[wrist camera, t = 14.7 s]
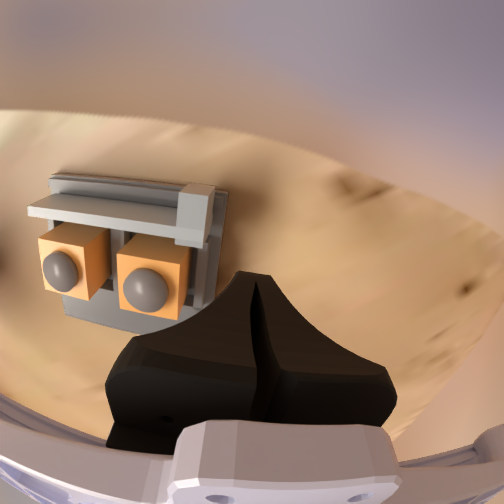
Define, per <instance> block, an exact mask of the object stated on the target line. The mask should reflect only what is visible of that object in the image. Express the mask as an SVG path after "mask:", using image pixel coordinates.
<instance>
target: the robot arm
mask: <svg viewBox="0 0 504 504" xmlns="http://www.w3.org/2000/svg"><path fill="white" fill-rule="evenodd" d="M105 390H106V395H107V399H108V402H109V406H110V409H111V412H112V416H113V419H114V423H113V425H112V428H111V430H110V433H109V435H108V438H107V440H104V439H101V438H98V437H95V436H92V435H90V434H87V433H84V432H82V431H79V430H76V429H74V428H71V427H69V426H66V425H64V424H62V423H59V422H57V421H55V420H53V419H50V418H48V417H46V416H44V415H42V414H39V413H37V412H35V411H33V410H31V409H29V408H27V407H25V406H23V405H21V404H20V403H18V402H16V401H14V400H12V399H10V398H9V397H7V396H5V395H3V394H2V393H0V478H2V479H3V480H5V481H6V482H7V483H9V484H10V485H12V486H13V487H15V488H17V489H18V490H19V491H21V492H23V493H24V494H26V495H27V496H29V497H31V498H32V499H34V500H36V501H37V502H39V503H41V504H484V503H486V502H487V501H489V500H490V499H491V498H493V497H494V496H496V495H497V494H498V493H500V492H501V491H502V490H504V424H501V425H498V426H495V427H493V428H490V429H488V430H486V431H485V432H483V433H482V434H481V435H480V436H479V437H478V438H477V439H476V440H475V441H474V443H473V444H471V445H468V446H464V447H461V448H458V449H454V450H451V451H447V452H443V453H439V454H435V455H431V456H427V457H422V458H418V459H413V460H408V461H403V462H398V461H397V458H396V454H395V451H394V448H393V445H392V442H391V439H390V436H389V435H388V434H387V432H386V431H385V430H384V429H383V428H381V426H382V425H383V424H384V422H385V421H386V420H387V418H388V417H389V416H390V414H391V413H392V411H393V409H394V408H395V406H396V402H397V394H396V390H395V388H394V385H393V383H392V381H391V378H390V376H389V374H388V372H387V370H386V368H385V367H384V366H381V365H379V364H376V363H374V362H372V361H369V360H367V359H365V358H362V357H360V356H358V355H356V354H354V353H352V352H351V351H349V350H347V349H345V348H343V347H342V346H340V345H338V344H337V343H335V342H334V341H332V340H331V339H330V338H328V337H327V336H325V335H324V334H322V333H321V332H320V331H319V330H317V329H316V328H315V327H314V326H313V325H312V324H310V323H309V322H308V321H307V320H306V319H305V318H304V317H303V316H302V315H301V314H300V313H299V312H298V311H297V310H296V309H295V307H294V306H293V305H292V304H291V303H290V302H289V300H288V299H287V298H286V297H285V295H284V294H283V293H282V291H281V290H280V288H279V287H278V285H277V284H276V282H275V281H274V280H273V278H272V277H271V276H270V275H264V274H257V273H251V272H244V271H238V272H237V273H236V274H235V276H234V278H233V279H232V281H231V282H230V283H229V285H228V286H227V287H226V288H225V289H224V290H223V292H222V293H221V294H220V295H219V296H218V297H216V298H215V299H214V300H213V301H212V302H211V303H210V304H209V305H207V306H206V307H205V308H204V309H202V310H201V311H199V312H198V313H197V314H195V315H193V316H192V317H190V318H188V319H186V320H184V321H182V322H180V323H178V324H176V325H173V326H171V327H168V328H165V329H163V330H159V331H156V332H152V333H148V334H144V335H140V336H135V337H133V338H132V339H131V340H130V341H129V343H128V344H127V345H126V347H125V348H124V349H123V351H122V352H121V353H120V355H119V356H118V358H117V360H116V361H115V363H114V365H113V367H112V369H111V371H110V373H109V375H108V378H107V380H106V383H105Z"/></svg>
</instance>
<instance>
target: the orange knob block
mask: <svg viewBox="0 0 504 504" xmlns="http://www.w3.org/2000/svg"><path fill="white" fill-rule="evenodd" d="M38 243H39V251H40V259H41V266H42V272H43V278H44V284H45V289H47V290H50V291H54V292H57V293H61V294H64V295H68V296H72V297H75V298H79V299H83V300H87V301H89V300H90V299H91V298H92V297H93V296H94V294H95V293H96V292H97V291H98V290H99V288H100V287H101V286H102V285H103V284H104V283H105V281H106V280H107V279H108V278H109V277H110V276H111V275H112V273H111V252H110V228H104V227H98V226H91V225H85V224H78V223H72V222H63V223H62V224H60V225H58V226H57V227H55V228H53V229H52V230H50V231H49V232H47V233H45V234H44V235H42V236H41V237H39V238H38Z"/></svg>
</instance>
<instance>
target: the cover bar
mask: <svg viewBox="0 0 504 504" xmlns="http://www.w3.org/2000/svg"><path fill="white" fill-rule="evenodd" d="M215 187H216V186H210V185H203V184H196V183H189V184H188V185H187V186H186V187H185V188H183V189H182V190H181V191H180V192H179V197H178V208H173V207H166V206H158V205H151V204H143V203H135V202H127V201H119V200H111V199H103V198H94V197H85V196H76V195H67V194H57V193H55V194H52V195H50V196H48V197H46V198H43V199H41V200H39V201H37V202H35V203H32V204H30V205H28V206H27V207H28V216H33V217H39V218H46V219H52V220H59V221H65V222H72V223H78V224H85V225H91V226H98V227H104V228H111V229H117V230H124V231H130V232H136V233H143V234H149V235H156V236H162V237H169V238H175V244H176V245H182V246H189V247H195V248H201V249H202V248H203V246H204V244H205V242H206V239H207V237H208V235H209V233H210V227H211V224H212V219H213V213H212V210H213V202H214V195H215Z"/></svg>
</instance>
